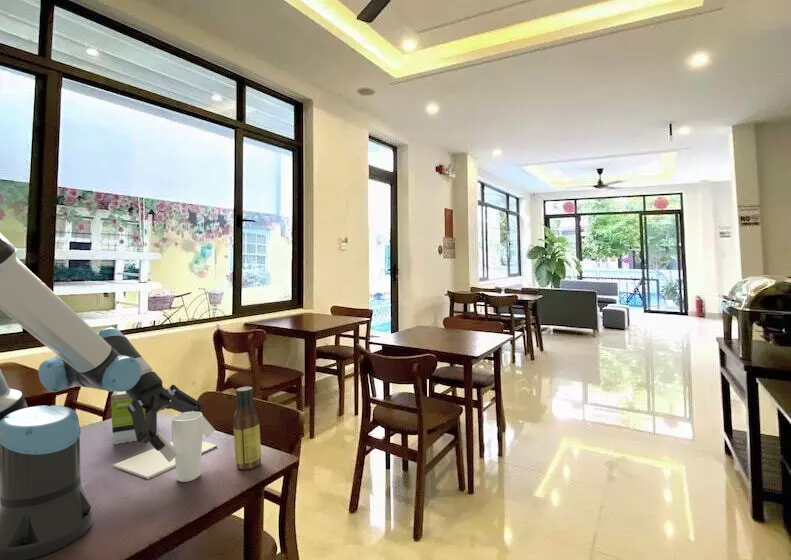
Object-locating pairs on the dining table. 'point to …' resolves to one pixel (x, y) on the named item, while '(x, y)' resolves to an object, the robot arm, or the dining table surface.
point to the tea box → (122, 418)
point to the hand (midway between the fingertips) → (193, 445)
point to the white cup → (187, 444)
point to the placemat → (152, 462)
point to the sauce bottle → (246, 431)
